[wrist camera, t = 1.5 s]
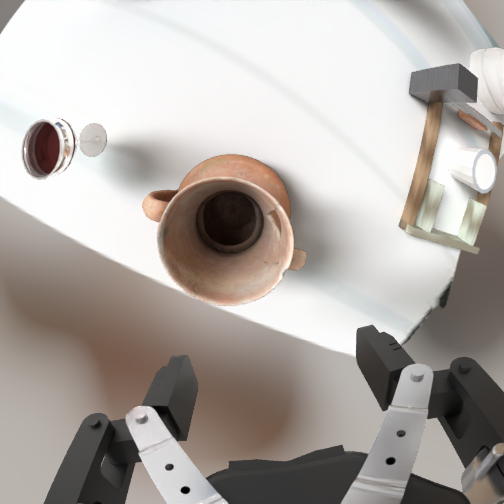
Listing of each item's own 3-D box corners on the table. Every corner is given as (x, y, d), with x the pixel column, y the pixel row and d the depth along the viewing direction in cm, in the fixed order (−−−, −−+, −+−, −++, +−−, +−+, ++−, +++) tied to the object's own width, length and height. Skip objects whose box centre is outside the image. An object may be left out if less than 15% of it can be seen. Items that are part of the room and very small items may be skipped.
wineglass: (71, 124, 30) (18, 130, 19) (109, 111, 30) (58, 109, 19) (78, 167, 33) (26, 186, 22) (115, 157, 33) (66, 172, 22)
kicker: (411, 72, 27) (459, 63, 17) (488, 123, 29) (533, 132, 19) (408, 93, 29) (457, 88, 19) (486, 141, 31) (530, 152, 21)
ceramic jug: (312, 182, 35) (348, 211, 22) (268, 272, 41) (277, 336, 28) (185, 131, 32) (147, 130, 19) (153, 229, 38) (111, 277, 25)
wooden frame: (431, 78, 28) (447, 76, 24) (495, 124, 29) (510, 126, 26) (398, 225, 38) (411, 235, 34) (465, 245, 40) (477, 254, 36)
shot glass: (461, 189, 35) (487, 201, 29) (439, 169, 34) (467, 179, 28) (474, 157, 33) (501, 165, 26) (453, 134, 31) (481, 140, 25)
